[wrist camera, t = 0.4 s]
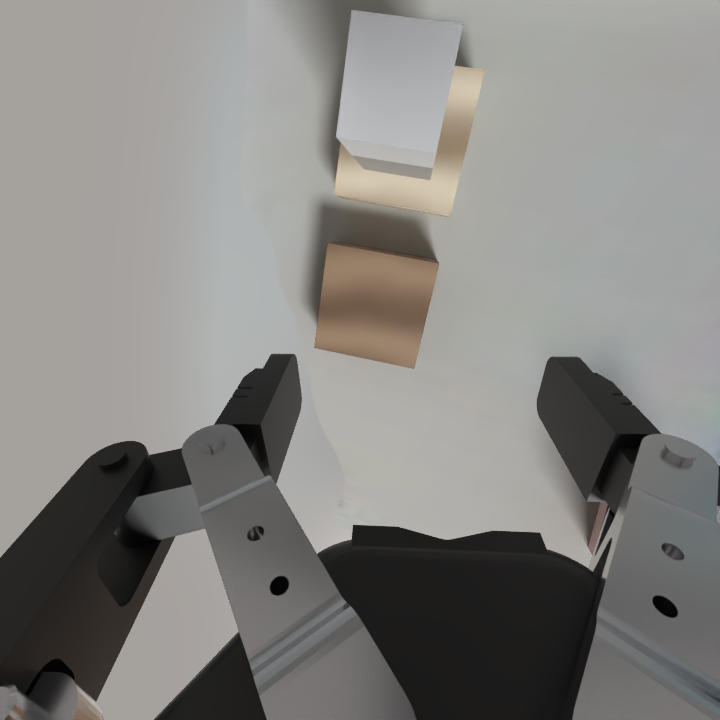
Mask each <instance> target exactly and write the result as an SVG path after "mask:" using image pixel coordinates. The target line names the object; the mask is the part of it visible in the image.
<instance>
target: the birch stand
mask: <svg viewBox="0 0 720 720" xmlns="http://www.w3.org/2000/svg"><path fill="white" fill-rule="evenodd" d="M484 71H485V70H483V69H475V68H468V67H461V66H455V67H454V71H453V76H452V81H451V86H450V90H449V95H448V100H447V105H446V109H445V114H444V119H443V123H442V128H441V133H440V138H439V142H438V147H437V152H436V156H435V161H434V165H433V170H432V174H431V179H430V180H424V179H418V178H412V177H406V176H400V175H394V174H388V173H382V172H376V171H370V170H364V169H363V168H362V167H361V165H360V164H359V163H358V162H357V161H356V160H355V158H354V157H353V156H352V155H351V154H350V153H349V152H348V150H347V149H346V148H345V147H344V146H343V145H342V143H340V151H339V159H338V166H337V174H336V182H335V190H334V195H336V196H338V197H341V198H343V199H349V200H354V201H360V202H366V203H372V204H378V205H383V206H389V207H395V208H401V209H407V210H412V211H418V212H424V213H430V214H435V215H441V216H449V215H451V211H452V207H453V203H454V198H455V194H456V190H457V186H458V182H459V177H460V173H461V169H462V165H463V160H464V156H465V152H466V148H467V143H468V139H469V135H470V131H471V126H472V122H473V118H474V114H475V110H476V105H477V101H478V97H479V93H480V88H481V84H482V80H483V76H484Z"/></svg>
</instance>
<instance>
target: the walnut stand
mask: <svg viewBox="0 0 720 720" xmlns="http://www.w3.org/2000/svg"><path fill="white" fill-rule="evenodd" d="M438 266H439V263H438V261H437V260H433V259H428V258H422V257H417V256H411V255H406V254H400V253H395V252H389V251H384V250H379V249H373V248H368V247H362V246H357V245H351V244H346V243H340V242H332V243H328V244H327V252H326V260H325V268H324V276H323V283H322V291H321V299H320V307H319V314H318V322H317V330H316V338H315V346H314V348H318V349H322V350H327V351H332V352H337V353H341V354H346V355H351V356H356V357H360V358H365V359H370V360H375V361H380V362H384V363H389V364H394V365H399V366H403V367H408V368H413V369H414V368H415V364H416V359H417V355H418V351H419V347H420V342H421V338H422V334H423V330H424V325H425V321H426V317H427V313H428V309H429V304H430V300H431V296H432V292H433V287H434V283H435V279H436V275H437V270H438Z"/></svg>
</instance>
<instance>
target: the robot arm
mask: <svg viewBox="0 0 720 720" xmlns="http://www.w3.org/2000/svg"><path fill="white" fill-rule="evenodd" d="M301 401H302V397H301V387H300V380H299V372H298V364H297V358H296V356H295V355H294V354H271V355H270V357H269V359H268V361H267V362H266V364H265V366H264V368H263V369H254V370H253V371H252V372H250V373H249V374H248V375H246V376H245V377H244V378H243V379H242V381H241V383H240V384H239V386H238V389H236V391H235V392H234V394H233V397H232V398H231V399H230V400H229V402H228V403H227V405H226V407H225V408H224V410H223V411H222V413H221V415H220V416H219V418H218V419H217V421H216V423H215V424H214V425H212V426H208V427H205V428H202V429H200V430H198V431H196V432H195V433H194V434H192V435H191V436H190V437H189V438H188V439H187V440H186V441H185V443H184V444H183V447H182V448H181V449H177V450H172V451H167V452H162V453H157V454H152V455H149V454H148V451H147V449H146V447H145V446H144V445H143V444H141V443H139V442H136V441H125V442H120V443H116V444H113V445H110V446H107V447H105V448H103V449H101V450H99V451H98V452H96V453H95V454H93V455H92V456H91V457H90V458H88V459H87V460H86V461H85V462H84V464H83V465H82V466H81V467H80V468H79V469H78V470H77V471H76V473H75V474H74V475H73V476H72V477H71V478H70V479H69V481H68V482H67V483H66V484H65V485H64V486H63V487H62V488H61V490H60V491H59V492H58V493H57V494H56V495H55V497H54V498H53V499H52V500H51V501H50V502H49V503H48V504H47V505H46V507H45V508H44V509H43V510H42V511H41V512H40V513H39V515H38V516H37V517H36V518H35V519H34V520H33V521H32V522H31V524H30V525H29V526H28V527H27V528H26V529H25V530H24V532H23V533H22V534H21V535H20V536H19V537H18V539H17V540H16V541H15V542H14V543H13V544H12V545H11V546H10V548H9V549H8V550H7V551H6V552H5V553H4V554H3V555H2V557H1V558H0V720H104V718H103V713H102V710H101V708H100V707H99V705H98V704H97V703H96V701H97V699H98V697H99V694H100V692H101V690H102V688H103V686H104V684H105V682H106V680H107V678H108V676H109V674H110V672H111V669H112V667H113V665H114V663H115V661H116V659H117V657H118V655H119V653H120V651H121V649H122V646H123V644H124V642H125V640H126V638H127V636H128V634H129V632H130V630H131V628H132V626H133V624H134V621H135V619H136V617H137V615H138V613H139V611H140V609H141V607H142V605H143V603H144V601H145V599H146V596H147V594H148V592H149V590H150V588H151V586H152V584H153V582H154V580H155V578H156V576H157V574H158V572H159V569H160V567H161V565H162V563H163V561H164V559H165V557H166V555H167V553H168V551H169V549H170V547H171V544H172V542H173V540H174V538H175V536H177V535H181V534H185V533H189V532H192V531H197V530H201V529H206V532H207V534H208V538H209V541H210V544H211V547H212V550H213V553H214V556H215V559H216V562H217V565H218V568H219V571H220V575H221V578H222V581H223V584H224V587H225V590H226V593H227V596H228V599H229V602H230V605H231V608H232V611H233V614H234V618H235V620H236V624H237V627H238V630H239V632H238V633H237V634H236V635H235V636H234V637H233V638H232V639H231V640H230V641H229V642H228V643H227V644H226V645H225V646H224V647H223V648H222V650H220V651H219V652H218V654H217V655H216V656H215V657H214V658H213V659H212V660H211V661H210V662H209V663H208V664H207V665H206V666H205V667H204V668H203V669H202V670H201V671H200V672H199V673H198V674H197V675H196V677H195V678H194V679H193V680H192V681H191V682H190V683H189V684H188V685H187V686H186V687H185V688H184V689H183V690H182V691H181V692H180V693H179V694H178V695H177V696H176V697H175V698H174V699H173V701H171V702H170V703H169V704H168V706H167V707H166V708H165V709H164V710H163V711H162V712H161V713H160V714H159V715H158V716H157V717H156V718H155V719H154V720H720V466H718V465H717V462H716V461H715V460H714V458H713V457H712V456H711V455H710V454H709V453H707V452H706V451H705V450H703V449H702V448H700V447H699V446H697V445H695V444H693V443H691V442H689V441H687V440H684V439H681V438H678V437H675V436H671V435H665V434H661V433H660V432H659V431H658V430H657V428H656V427H655V426H654V425H653V424H652V423H651V422H650V421H649V420H648V419H647V418H646V417H645V416H644V415H643V414H642V413H641V412H640V411H639V410H638V409H637V408H636V406H635V405H632V402H631V401H630V400H629V399H628V398H627V397H626V396H623V393H622V392H621V391H620V390H619V389H618V388H617V387H616V386H615V384H614V383H613V382H611V381H609V380H608V379H606V378H604V377H602V376H601V375H599V374H597V373H593V372H592V371H591V370H590V369H589V368H588V367H587V365H586V364H585V363H584V362H583V361H582V360H581V359H580V358H579V357H551V358H549V360H548V361H547V364H546V368H545V371H544V375H543V379H542V383H541V386H540V390H539V394H538V398H537V411H538V415H539V417H540V419H541V421H542V423H543V425H544V426H545V428H546V430H547V432H548V433H549V435H550V437H551V439H552V441H553V442H554V444H555V446H556V448H557V449H558V451H559V453H560V455H561V457H562V458H563V460H564V462H565V464H566V466H567V467H568V469H569V471H570V473H571V474H572V476H573V478H574V480H575V482H576V483H577V485H578V487H579V489H580V490H581V492H582V494H583V496H584V498H585V499H586V501H587V502H607V504H608V506H609V507H610V508H609V510H608V512H607V514H606V516H605V519H604V522H603V525H602V528H601V531H600V534H599V537H598V540H597V543H596V546H595V549H594V552H593V555H592V558H591V561H590V564H589V567H588V568H587V567H585V566H583V565H582V564H580V563H578V562H576V561H574V560H572V559H570V558H568V557H566V556H564V555H562V554H559V553H556V552H554V551H551V550H547V549H546V547H545V544H544V542H543V539H542V537H541V534H540V533H534V532H510V531H490V532H485V533H480V534H475V535H471V536H466V537H461V538H456V539H451V540H444V539H439V538H436V537H432V536H429V535H425V534H422V533H418V532H414V531H411V530H407V529H404V528H400V527H388V526H364V525H353V532H352V540H348V541H344V542H341V543H338V544H335V545H332V546H330V547H328V548H326V549H324V550H323V551H321V552H319V553H318V554H317V553H316V552H315V550H314V548H313V547H312V545H311V543H310V542H309V540H308V538H307V536H306V535H305V533H304V531H303V529H302V528H301V526H300V525H299V523H298V521H297V519H296V518H295V516H294V514H293V513H292V511H291V509H290V507H289V506H288V504H287V502H286V501H285V499H284V497H283V495H282V494H281V492H280V490H279V488H278V487H277V485H276V483H277V480H278V477H279V474H280V471H281V468H282V465H283V462H284V459H285V456H286V453H287V450H288V447H289V444H290V440H291V438H292V435H293V432H294V429H295V426H296V423H297V419H298V417H299V414H300V410H301Z"/></svg>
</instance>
